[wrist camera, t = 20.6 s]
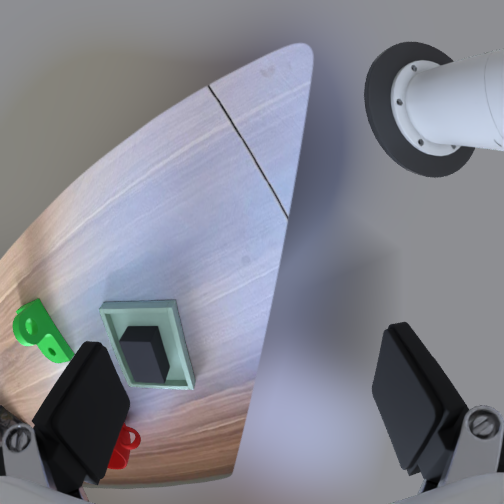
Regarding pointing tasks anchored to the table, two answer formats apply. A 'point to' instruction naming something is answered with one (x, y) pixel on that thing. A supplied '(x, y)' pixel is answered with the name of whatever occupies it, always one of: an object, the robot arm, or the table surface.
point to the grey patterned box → (6, 421)
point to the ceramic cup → (123, 448)
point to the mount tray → (171, 333)
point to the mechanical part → (40, 332)
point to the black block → (145, 354)
